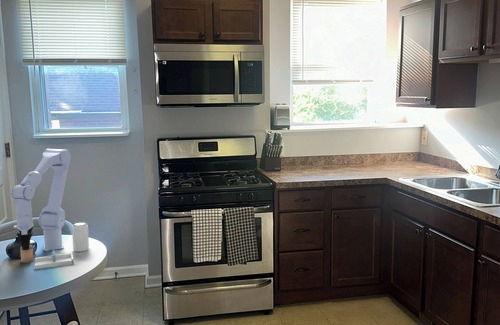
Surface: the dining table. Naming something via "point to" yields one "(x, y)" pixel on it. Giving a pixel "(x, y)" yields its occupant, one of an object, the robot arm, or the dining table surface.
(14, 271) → the dining table surface
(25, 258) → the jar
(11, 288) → the dining table surface
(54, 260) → the pusher
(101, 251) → the dining table surface
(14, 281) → the dining table surface
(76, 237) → the can
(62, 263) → the pusher lane
